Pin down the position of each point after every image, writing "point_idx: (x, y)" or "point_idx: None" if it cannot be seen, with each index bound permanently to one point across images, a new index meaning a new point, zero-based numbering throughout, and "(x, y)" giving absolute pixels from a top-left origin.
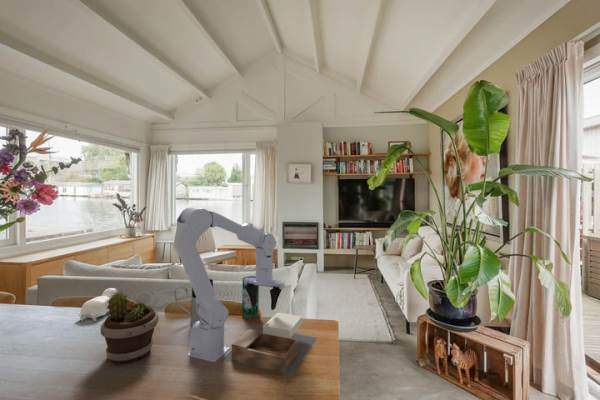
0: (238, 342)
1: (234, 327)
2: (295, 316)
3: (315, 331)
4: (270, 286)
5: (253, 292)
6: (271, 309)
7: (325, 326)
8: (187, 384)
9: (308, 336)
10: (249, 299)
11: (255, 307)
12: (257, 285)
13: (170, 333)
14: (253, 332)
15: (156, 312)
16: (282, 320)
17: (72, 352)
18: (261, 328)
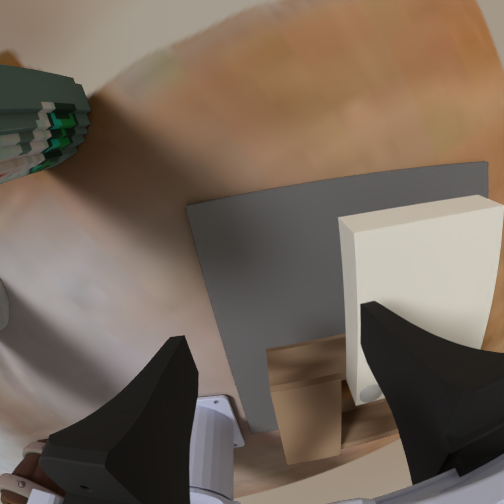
0: (301, 454)
1: (90, 269)
2: (477, 228)
3: (460, 95)
4: (409, 501)
5: (176, 465)
6: (362, 345)
7: (469, 34)
8: (255, 481)
9: (461, 167)
10: (1, 174)
11: (57, 123)
12: (126, 461)
13: (13, 387)
14: (307, 401)
15: (28, 496)
16: (429, 316)
17: (16, 463)
18: (216, 215)
